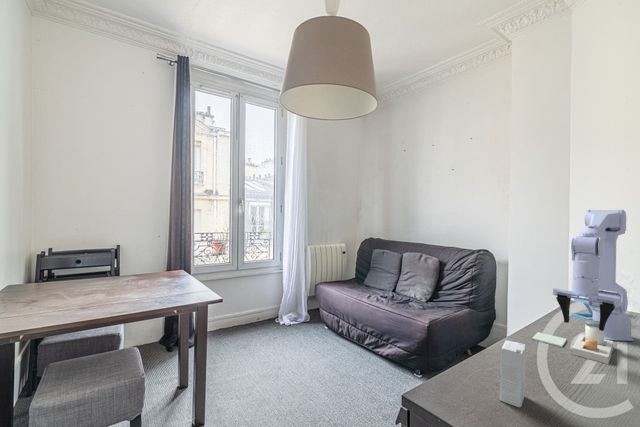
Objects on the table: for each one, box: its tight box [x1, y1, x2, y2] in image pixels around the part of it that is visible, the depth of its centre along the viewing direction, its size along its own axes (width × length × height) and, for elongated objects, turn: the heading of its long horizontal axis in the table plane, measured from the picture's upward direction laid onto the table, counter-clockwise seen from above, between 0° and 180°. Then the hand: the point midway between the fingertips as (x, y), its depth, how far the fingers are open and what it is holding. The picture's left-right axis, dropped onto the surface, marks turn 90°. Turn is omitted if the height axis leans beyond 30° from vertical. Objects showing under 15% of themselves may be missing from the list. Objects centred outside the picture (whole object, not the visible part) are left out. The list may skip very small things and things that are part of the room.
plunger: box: [585, 338, 598, 350], centre depth 91 cm, size 3×3×2 cm
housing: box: [571, 333, 614, 365], centre depth 94 cm, size 16×8×2 cm, turn 132°
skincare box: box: [499, 339, 527, 408], centre depth 69 cm, size 6×4×12 cm
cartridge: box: [584, 320, 604, 346], centre depth 96 cm, size 5×5×8 cm
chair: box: [570, 296, 593, 321], centre depth 125 cm, size 8×8×12 cm
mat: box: [531, 331, 568, 348], centre depth 102 cm, size 8×8×1 cm
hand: (583, 326), depth 87 cm, fingers open, 7 cm apart
